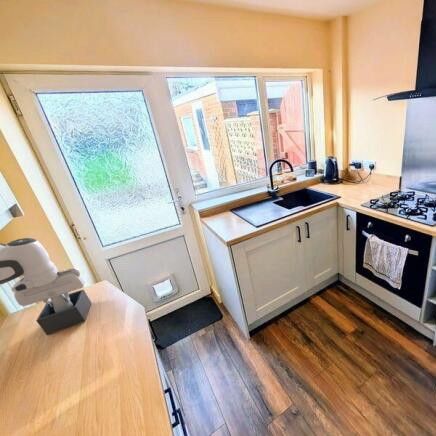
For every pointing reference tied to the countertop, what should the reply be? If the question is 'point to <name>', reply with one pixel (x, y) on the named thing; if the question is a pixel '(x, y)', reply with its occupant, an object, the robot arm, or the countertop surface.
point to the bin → (65, 314)
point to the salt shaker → (59, 302)
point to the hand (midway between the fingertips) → (61, 303)
